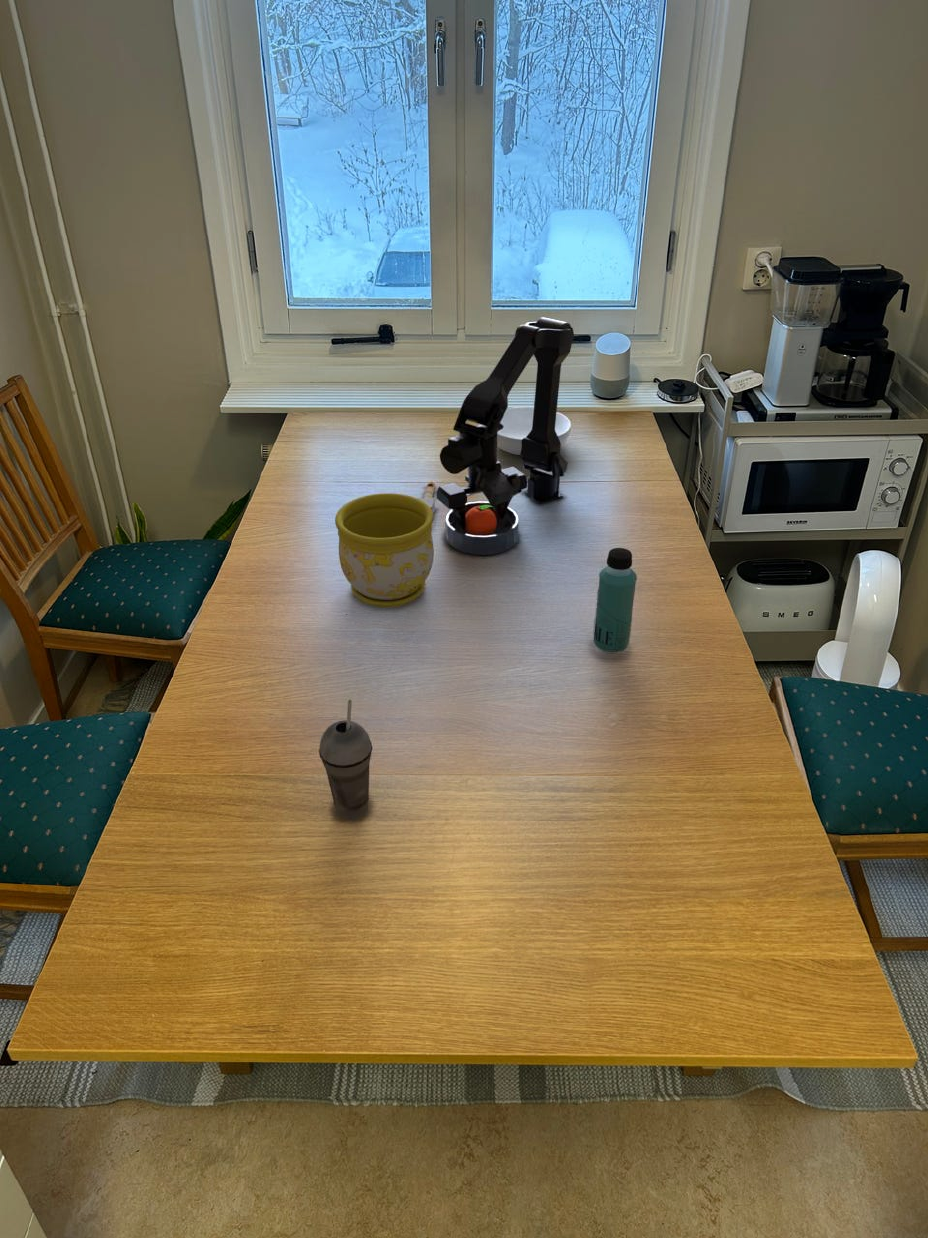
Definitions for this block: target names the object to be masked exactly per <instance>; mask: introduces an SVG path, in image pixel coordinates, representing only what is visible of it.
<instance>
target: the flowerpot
mask: <svg viewBox="0 0 928 1238" xmlns="http://www.w3.org/2000/svg"><path fill="white" fill-rule="evenodd" d="M433 523H434V513H433V512H432V510H431V508H430V507H429V506H428V505H427V504H426V503H425V502H423V501H421V500H419V499H418V497H414V496H411V495H408V494H403V493H393V492H391V493H390V492H388V493H387V492H386V493H385V492H384V493H383V492H381V493H372V494H368V495H363V496H360V497H357V498H355V499H352V500H350V501H348V502H346V503H345V504H344V505H342V506H341V507H340V508H339V510H338V511H337V512H336V515H335V519H334V524H335V527H336V529H337V536H338V559H339V565H340V568H341V570H342V573H343V575H344V577H345V579H346V580H347V582H348V583H349V584H350V589H351V592H352V594H353V596H355V597H357V598H358V599H359V600H360V601H361V602H362V603H365V604H366V605H368V606H372V607H374V608H375V607H376V608H384V609H385V608H386V609H388V608H389V609H390V608H397V607H402V606H404V605H407V604H410V603H412V602H413V601H415V600H416V599H417V598H418V597H419V596H420V595H421V594H422V593H423V592H424V590H425V588H426V584H427V583H426V581H427V579H428V578H429V576H430V573H431V571H432V568H433V563H434V556H435V547H434V538H433V534H432V532H433Z"/></svg>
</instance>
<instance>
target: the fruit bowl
mask: <svg viewBox="0 0 928 1238" xmlns="http://www.w3.org/2000/svg"><path fill="white" fill-rule="evenodd" d="M466 505H467V506H468V508H467V509H466V510H465V514H466V513H467V512H468V511H469V510H470V509H472V508H473V507H476V506H482V505H490V506H493V507H494V508H495V510H494V508H493V507H488V508H489V509H491V510H492V512H493V513H494V514H495V516H496V520H497V525H496V529H495V531H494V533H493V534H492V535H488V536H476V535H470V534H468V533H467V532H466V530H462V529H461V527H460V525H459V523H458V521H457V518H456V516H455V514H454V512H453V510H452V509H449V511H448V512H447V514H446V515H445V520H444V525H445V526H444V527H445V528H444V529H445V530H444V532H445V540H446V542H447V544H448V545H449V546H451V547H452V548H453V549H455V550H457V551H459V552H462V553H465V554H469V555H475V556H476V555H477V556H478V555H479V556H487V555H497V554H500V553H503V552H505V551H507V550H510V549H511V548H513V547H514V546H515V545H516V543H517V542H518V541H519V526H520V525H519V524H520V521H519V520H520V517H519V515H518V514H517V512H516V510H514V509H512V508H511V507H509V506H508V508H507V510H506V513H505V515H504V517H503V519H500V518H499V516H498V509H497V505H492V504H490V503H489V501H481V500H480V501H479V500H478V501H469V502H467V503H466Z"/></svg>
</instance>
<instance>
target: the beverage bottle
mask: <svg viewBox="0 0 928 1238" xmlns="http://www.w3.org/2000/svg"><path fill="white" fill-rule="evenodd" d="M606 565H607V566H605V567H603V568H602V569H601V570H600V572H599V575H598V577H599V579H598V585H597V586H598V587H597V590H596V591H597V592H596V594H597V596H596V608H595V619H594V620H593V624H594V625H593V627H594V629H593V633H592V634H593V642H594V645H595V646H596V648H597V649H599V650H601V651H603V652H606V653H610V654H611V653H614V654H615V653H620V652H623V651H625V650H626V649H627V648H628V646H629V644H630V639H631V637H632V636H631V635H632V632H631V631H632V623H633V616H634V614H633V611H634V600H635V593H636V583H637V579H638V576H637V574H636V572H635V571H634V569H632V566H633V553H632V551H631V550H629V549H627V548H624V547H614V548H611V549H610V550H609V551H608V554H607V558H606Z"/></svg>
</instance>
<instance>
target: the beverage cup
mask: <svg viewBox="0 0 928 1238" xmlns="http://www.w3.org/2000/svg"><path fill="white" fill-rule="evenodd" d="M352 702H353V701H352V699H347V707H346V708H347V709H346V710H347V711H346V719H343V720H338V721H336V722H333V723H332V724H330V725H329V726H328V727H327V728H326V729H325V731H324V732H323V733H322V735H321V739H320V741H319V748H318V754H319V758H320V759H321V762H322V765H323V767H324V768H325V772H326V776H327V780H328V784H329V788H330V792H331V797H332V800H333V804H334V807H335V810H336V814H337V815H338V816H339V817H340V818H341V819H344V820H348V821H353V820H358V819H360V818H362V817H363V816H364V815H366V813H367V812H368V809H369V799H370V797H369V796H370V765H371V764H370V763H371V759H372V758H371V757H372V752H373V743H372V740H371V738H370V735H369V733H368V731H367V730H366V729H365V728H364V727H363V726H362V725H361V724H359V723H358V722H356V721H354V720H352V706H353V705H352V704H353V703H352Z"/></svg>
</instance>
